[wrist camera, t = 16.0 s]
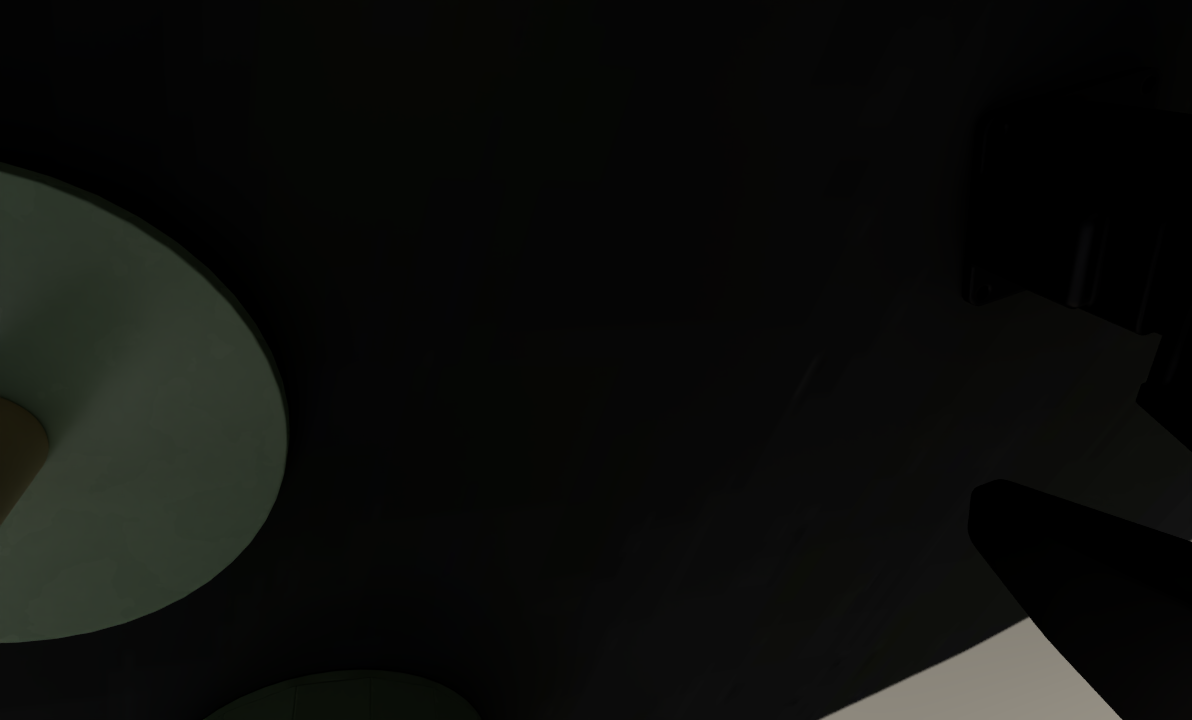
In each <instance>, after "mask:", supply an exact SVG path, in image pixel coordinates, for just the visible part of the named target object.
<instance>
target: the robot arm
mask: <svg viewBox="0 0 1192 720" xmlns="http://www.w3.org/2000/svg"><path fill="white" fill-rule="evenodd" d="M1161 83H1162V73H1161V70H1159V69H1158V68H1151V67H1139V68H1136V69H1132V70H1129V71H1126V72H1122V73H1119V74H1116V75H1112V76H1109V77H1105V78H1102V79H1099V80H1095V81H1092V82H1089V83H1085V84H1082V85H1079V86H1075V87H1072V88H1069V89H1065V90H1062V91H1059V92H1055V93H1052V94H1049V95H1045V96H1042V97H1038V98H1035V99H1032V100H1028V101H1025V102H1022V103H1018V104H1015V105H1012V106H1008V107H1005V108H1002V109H998V110H995V111H992V112H989V113H987V114H985V115H984V116H983V117H982V118H981V119H980V121H979V123H978V125H977V127H976V131H975V140H974V152H973V164H972V176H971V189H970V201H969V213H968V225H967V237H966V249H965V261H964V273H963V285H962V297H963V299H964V300H965V301H967V302H969V303H971V304H973V305H975V306H981V305H984V304H987V303H990V302H993V301H996V300H999V299H1002V298H1005V297H1008V296H1010V295H1013V294H1016V293H1019V292H1022V291H1025V290H1029V291H1031V292H1033V293H1036V294H1038V295H1040V296H1043V297H1045V298H1047V299H1049V300H1052V301H1054V302H1056V303H1058V304H1061V305H1063V306H1065V307H1068V308H1071V309H1076V308H1079V309H1082V310H1084V311H1086V312H1089V313H1091V314H1093V315H1096V316H1098V317H1100V318H1102V319H1105V320H1107V321H1109V322H1112V323H1114V324H1116V325H1119V326H1121V327H1123V328H1126V329H1128V330H1130V331H1132V332H1135V333H1137V334H1139V335H1147V334H1150V333H1153V332H1155V333H1158V334H1160V335H1162V339H1161V341H1160V344H1159V347H1158V350H1157V353H1156V356H1155V358H1154V361H1153V364H1152V367H1151V370H1150V373H1149V376H1148V378H1147V381H1146V383H1143V384H1141V387H1140V390H1139V393H1138V396H1137V398H1136V402H1137V404H1138V405H1140V406H1141V407H1142V408H1143V409H1144V410H1145V411H1146V412H1147V413H1149V414H1150V415H1151V416H1152V417H1153V418H1154V419H1155V420H1156V421H1158V422H1159V423H1160V424H1161V425H1162V426H1163V427H1164V428H1165V429H1167V430H1168V431H1169V432H1170V433H1171V434H1172V435H1173V436H1174V437H1176V438H1177V439H1178V440H1179V441H1180V442H1181V443H1182V444H1184V445H1185V446H1186V447H1187V448H1188V449H1189V450H1190V451H1191V452H1192V114H1187V113H1180V112H1172V111H1165V110H1158V109H1156V107H1157V102H1158V97H1159V93H1160V88H1161ZM995 125H996V129H995V131H994V133H993V134H992V131H993V128H994V127H995ZM979 289H980V290H979ZM978 290H979V291H978ZM968 533H969V536H970V539H971V541H972V543H973V544H974V546H975V547H976V549H977V550H978V551H979V553H980V554H981V555H982V556H983V558H984V559H985V560H986V562H987V563H988V564H989V565H990V567H991V568H992V569H993V571H994V572H995V573H996V574H997V576H998V577H999V578H1000V580H1001V581H1002V582H1003V583H1004V585H1005V586H1006V587H1007V589H1008V590H1009V591H1010V593H1011V594H1012V595H1013V596H1014V598H1015V599H1016V600H1017V602H1018V603H1019V604H1020V605H1021V607H1022V608H1023V609H1024V611H1025V612H1026V613H1027V614H1028V616H1029V617H1030V618H1031V620H1032V621H1033V622H1034V623H1035V625H1036V626H1037V627H1038V628H1039V629H1040V631H1041V632H1042V633H1043V634H1044V636H1045V637H1046V638H1047V639H1048V640H1049V641H1050V642H1051V644H1052V645H1053V646H1054V647H1055V648H1056V649H1057V650H1058V651H1059V652H1060V654H1061V655H1062V656H1063V657H1064V658H1065V659H1066V660H1067V661H1068V662H1069V663H1070V664H1071V665H1072V666H1073V667H1074V669H1075V670H1076V671H1077V672H1078V673H1079V674H1080V675H1081V676H1082V677H1083V678H1084V679H1085V680H1086V681H1087V682H1088V683H1089V685H1090V686H1091V687H1092V688H1093V689H1094V690H1095V691H1096V692H1097V693H1098V694H1099V695H1100V696H1101V697H1102V698H1103V699H1104V701H1105V702H1106V703H1107V704H1108V705H1109V706H1110V707H1111V708H1112V709H1113V710H1114V711H1115V712H1116V713H1117V715H1119V717H1120V718H1121V719H1122V720H1192V542H1191V541H1188V540H1185V539H1182V538H1179V537H1176V536H1173V535H1170V534H1167V533H1164V532H1161V531H1158V530H1155V529H1152V528H1149V527H1146V526H1143V525H1140V524H1137V523H1134V522H1131V521H1128V520H1125V519H1122V518H1119V517H1116V516H1113V515H1110V514H1107V513H1104V512H1101V511H1098V510H1095V509H1092V508H1089V507H1086V506H1083V505H1080V504H1077V503H1074V502H1071V501H1068V500H1065V499H1062V498H1059V497H1056V496H1053V495H1050V494H1047V493H1044V492H1041V491H1038V490H1035V489H1032V488H1029V487H1026V486H1023V485H1020V484H1017V483H1014V482H1011V481H1008V480H1003V479H998V480H994V481H991V482H988V483H986V484H983V485H981V486H978V487H976V488H975V489H974V490H973V492H972V494H971V501H970V510H969V520H968Z"/></svg>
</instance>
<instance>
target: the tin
mask: <svg viewBox="0 0 1192 720" xmlns="http://www.w3.org/2000/svg"><path fill="white" fill-rule="evenodd" d="M203 720H482V719H481V717H480V716H479V714H478V713H477V711H476V710H475V709H474V708H473V707H472V706H471V704H470V703H469V702H468V701H467V700H465V699H464V698H463V697H461V696H460V695H459V694H457V693H456V692H455V691H453V690H451V689H449V688H447V687H445V686H443V685H441V684H440V683H437V682H434V681H431V680H429V679H426V678H423V677H419V676H415V675H411V674H406V673H401V672H393V671H385V670H361V669H358V670H342V671H331V672H325V673H318V674H311V675H307V676H303V677H298V678H294V679H290V680H286V681H283V682H280V683H277V684H274V685H270V686H267V687H264V688H262V689H259V690H257V691H254V692H252V693H250V694H247V695H245V696H243V697H240V698H238V699H237V700H235V701H233V702H231V703H229V704H227V705H225V706H224V707H222V708H220V709H218V710H217V711H215V712H214V713H212V714H211V715H209V716H208V717H206V718H205V719H203Z"/></svg>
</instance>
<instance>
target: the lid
mask: <svg viewBox="0 0 1192 720" xmlns="http://www.w3.org/2000/svg"><path fill="white" fill-rule="evenodd" d="M289 439H290V428H289V408H288V403H287V399H286V394H285V389H284V385H283V380H282V378H281V375H280V372H279V370H278V367H277V365H276V362H275V359H274V357H273V354H272V352H271V350H270V348H269V346H268V345H267V343H266V341H265V339H264V337H263V336H262V334H261V332H260V330H259V328H258V327H257V325H256V323H255V322H254V321H253V319H252V318H251V317H250V315H249V314H248V313H247V311H246V310H245V309H244V307H243V306H242V305H241V303H240V302H239V301H238V299H237V298H236V297H235V295H234V294H233V293H232V292H231V291H230V290H229V289H228V288H227V287H226V286H225V285H224V284H223V283H222V282H221V281H220V280H219V279H218V278H217V277H216V275H215V274H214V273H213V272H212V271H211V270H210V269H209V268H208V267H207V266H205V265H204V264H203V263H202V262H200V261H199V260H198V259H197V258H196V257H194V256H193V255H192V254H191V253H190V252H188V251H187V250H186V249H185V248H184V247H182V246H181V245H180V244H179V243H177V242H176V241H175V240H173V239H172V238H170V237H169V236H167V235H166V234H164V233H163V232H161V231H160V230H158V229H157V228H155V227H153V226H152V225H150V224H149V223H147V222H146V221H144V220H143V219H141V218H140V217H138V216H136V215H134V214H132V213H130V212H129V211H127V210H125V209H123V208H121V207H119V206H117V205H115V204H113V203H111V202H109V201H107V200H106V199H104V198H102V197H100V196H98V195H96V194H93V193H91V192H88V191H86V190H83V189H81V188H78V187H76V186H73V185H71V184H68V183H66V182H63V181H61V180H58V179H56V178H53V177H51V176H47V175H44V174H40V173H37V172H34V171H30V170H27V169H23V168H20V167H16V166H13V165H10V164H6V163H3V162H0V643H7V642H26V641H36V640H46V639H56V638H61V637H67V636H72V635H78V634H83V633H89V632H93V631H97V630H101V629H104V628H108V627H112V626H115V625H119V624H123V623H126V622H128V621H131V620H134V619H136V618H139V617H142V616H144V615H147V614H150V613H153V612H155V611H157V610H159V609H161V608H163V607H165V606H167V605H169V604H171V603H173V602H176V601H178V600H180V599H182V598H184V597H185V596H187V595H188V594H190V593H191V592H193V591H195V590H196V589H198V588H199V587H201V586H202V585H204V584H206V583H207V582H209V581H210V580H211V579H212V578H214V577H215V576H216V575H217V574H218V573H220V572H221V571H222V570H223V569H225V568H226V567H227V566H228V565H229V564H231V563H232V562H233V561H234V560H235V559H236V557H237V556H238V555H239V554H240V553H241V552H242V551H243V550H244V549H245V548H246V547H247V546H248V545H249V544H250V542H251V541H252V540H253V538H254V537H255V535H256V534H257V532H258V531H259V530H260V528H261V527H262V525H263V524H264V522H265V521H266V519H267V517H268V515H269V513H270V511H271V509H272V507H273V505H274V503H275V501H276V499H277V496H278V493H279V490H280V486H281V483H282V480H283V476H284V473H285V468H286V463H287V455H288V447H289Z"/></svg>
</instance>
